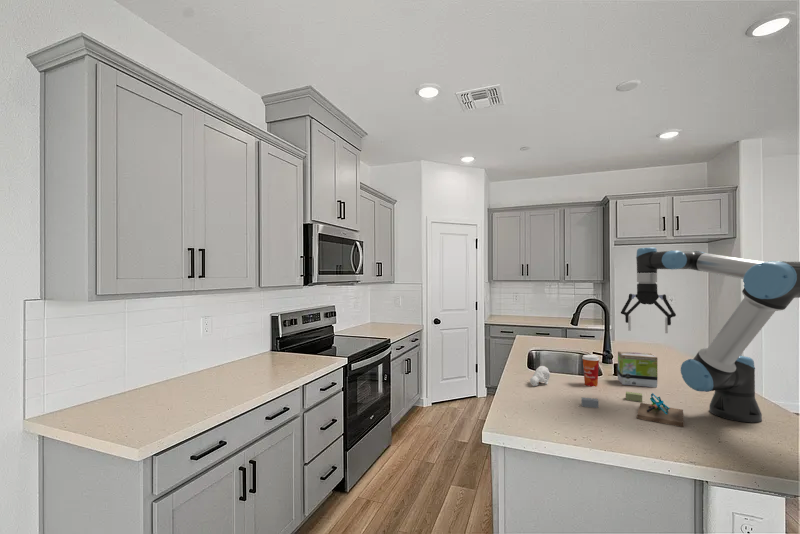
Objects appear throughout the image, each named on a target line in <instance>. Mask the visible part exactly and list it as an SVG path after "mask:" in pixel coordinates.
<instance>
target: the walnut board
mask: <svg viewBox="0 0 800 534" xmlns="http://www.w3.org/2000/svg"><path fill="white" fill-rule="evenodd" d="M651 404H652V403H651ZM651 404H650V403H643V402H639V407H638V410H637V413H636V418H637V419H638V420H643V421H648V422H656V423H660V424H665V425H669V426H671V425H672V426H675V425H676V427H682V428H684V409H679V408H675V407H669V408H670V409H668V414H665V413H664V412H663V411H662V410H660V411H659V409H658V408H654V409H653V410H651V411H649V412H647V411H646V410H648V409H650V408H648V407H649V406H650V405H651ZM660 407H661V408H662V409H663V410H664V411H665V412H666V410H665V408H664V407H663V406H660ZM667 407H668V406H667ZM667 407H666V409H667Z"/></svg>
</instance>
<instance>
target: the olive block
mask: <svg viewBox="0 0 800 534" xmlns="http://www.w3.org/2000/svg"><path fill="white" fill-rule="evenodd" d="M625 400H626V401H630V400H632V401H631V402H637V401H639V403H643V393H641V392H633V391H625Z"/></svg>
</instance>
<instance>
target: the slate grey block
mask: <svg viewBox="0 0 800 534" xmlns="http://www.w3.org/2000/svg"><path fill="white" fill-rule="evenodd" d="M580 399H581V407H584V408H595V409H599V399H598V398H594V397H593V398H592V397H581V398H580Z"/></svg>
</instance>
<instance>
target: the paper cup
mask: <svg viewBox="0 0 800 534" xmlns="http://www.w3.org/2000/svg"><path fill="white" fill-rule="evenodd" d="M581 358H582V366H583V368H582V369H583V378H584V385H585V386H588V387H592V386H595V387H598V382H599V366H600V365H599V363H600V358H599V355H595V354H594V355H593V354H584V355H582V357H581Z"/></svg>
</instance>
